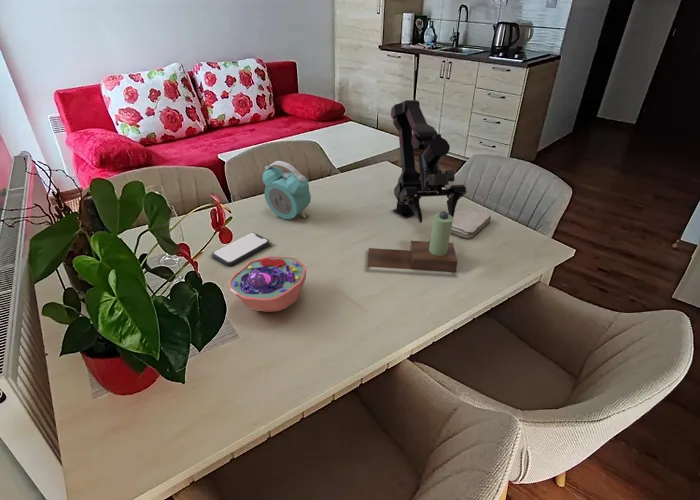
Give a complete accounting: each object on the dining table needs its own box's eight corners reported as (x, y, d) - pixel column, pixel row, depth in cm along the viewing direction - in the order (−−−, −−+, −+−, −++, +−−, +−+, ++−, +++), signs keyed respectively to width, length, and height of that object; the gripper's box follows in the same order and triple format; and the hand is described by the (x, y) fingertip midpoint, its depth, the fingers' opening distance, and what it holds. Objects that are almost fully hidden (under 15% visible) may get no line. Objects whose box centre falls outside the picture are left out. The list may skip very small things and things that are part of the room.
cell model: (322, 299, 113) (321, 263, 107) (258, 337, 101) (254, 299, 95) (282, 271, 123) (279, 237, 117) (219, 303, 111) (213, 266, 104)
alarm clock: (316, 216, 151) (315, 162, 140) (299, 227, 144) (297, 171, 133) (278, 203, 158) (274, 151, 147) (260, 213, 151) (255, 159, 141)
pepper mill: (431, 244, 128) (437, 205, 121) (448, 248, 126) (455, 209, 119) (427, 253, 124) (432, 213, 117) (445, 257, 122) (452, 217, 115)
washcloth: (436, 229, 146) (437, 221, 144) (459, 210, 158) (461, 203, 156) (469, 241, 140) (470, 233, 138) (490, 220, 152) (492, 213, 150)
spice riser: (368, 252, 133) (369, 238, 130) (450, 256, 132) (453, 242, 129) (367, 270, 124) (368, 256, 122) (455, 276, 123) (457, 261, 120)
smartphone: (230, 268, 124) (271, 244, 134) (229, 263, 123) (270, 240, 133) (210, 257, 128) (252, 235, 139) (209, 252, 127) (251, 231, 138)
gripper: (406, 160, 118) (412, 215, 115) (470, 158, 121) (478, 211, 118) (396, 175, 129) (402, 226, 126) (455, 173, 132) (463, 222, 129)
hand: (436, 221), depth 125 cm, fingers open, 9 cm apart
